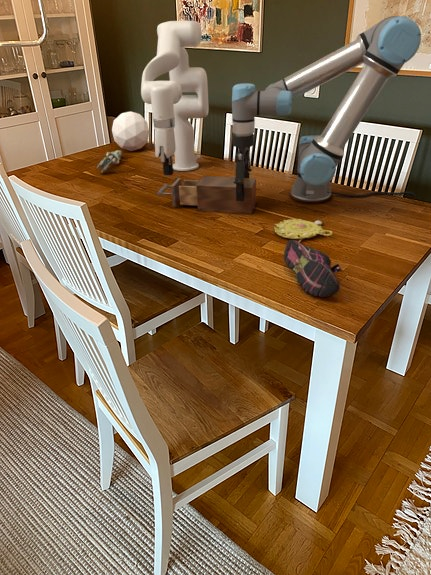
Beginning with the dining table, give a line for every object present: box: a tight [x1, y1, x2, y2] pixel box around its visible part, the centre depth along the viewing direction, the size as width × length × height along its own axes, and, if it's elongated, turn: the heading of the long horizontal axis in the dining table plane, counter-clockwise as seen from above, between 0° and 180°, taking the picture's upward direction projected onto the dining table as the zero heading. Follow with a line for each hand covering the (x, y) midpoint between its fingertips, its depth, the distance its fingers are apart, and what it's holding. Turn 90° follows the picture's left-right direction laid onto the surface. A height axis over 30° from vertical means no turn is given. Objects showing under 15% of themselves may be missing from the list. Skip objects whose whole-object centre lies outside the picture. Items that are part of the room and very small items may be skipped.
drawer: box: [156, 177, 200, 207], centre depth 167 cm, size 25×9×8 cm, turn 77°
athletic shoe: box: [283, 239, 344, 298], centre depth 119 cm, size 11×22×12 cm
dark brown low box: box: [196, 175, 257, 215], centre depth 164 cm, size 20×10×10 cm, turn 77°
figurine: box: [96, 150, 123, 174], centre depth 213 cm, size 7×8×30 cm
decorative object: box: [273, 218, 333, 243], centre depth 145 cm, size 21×2×20 cm
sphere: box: [111, 111, 150, 152], centre depth 232 cm, size 19×20×20 cm
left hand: (168, 174), depth 165 cm, fingers closed
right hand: (242, 194), depth 163 cm, fingers open, 11 cm apart
